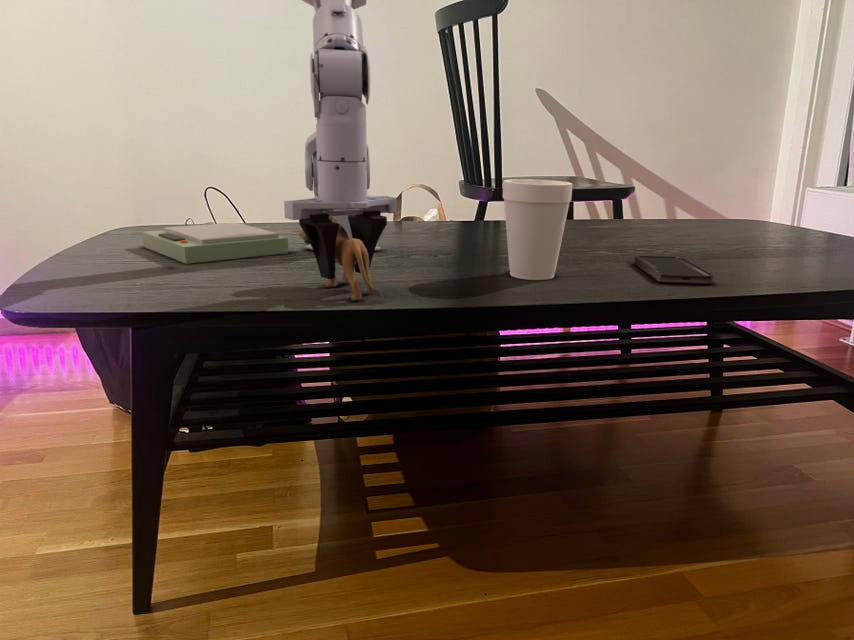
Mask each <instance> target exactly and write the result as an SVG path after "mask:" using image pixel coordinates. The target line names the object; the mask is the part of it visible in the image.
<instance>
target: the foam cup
mask: <svg viewBox="0 0 854 640" xmlns="http://www.w3.org/2000/svg"><path fill="white" fill-rule="evenodd" d="M502 181H503V182H502V199H503V205H504V216H505V217H504V218H505V231H506V243H507V255H508V269H509V275H510V276H511V277H513V278H515V279H520V280H529V281H545V280H551V279H553V278H554V277H555V274H556V270H557V265H558V260H559V255H560V252H561V251H560V250H561V245H562V242H563V241H562V240H563V236H564V231H565V226H566V221H567V216H568V212H569V207H570V203H571V202H572V196H573V183H572V182H569V181H561V180H549V179H531V178H513V179H511V178H510V179H504V180H502Z"/></svg>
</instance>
